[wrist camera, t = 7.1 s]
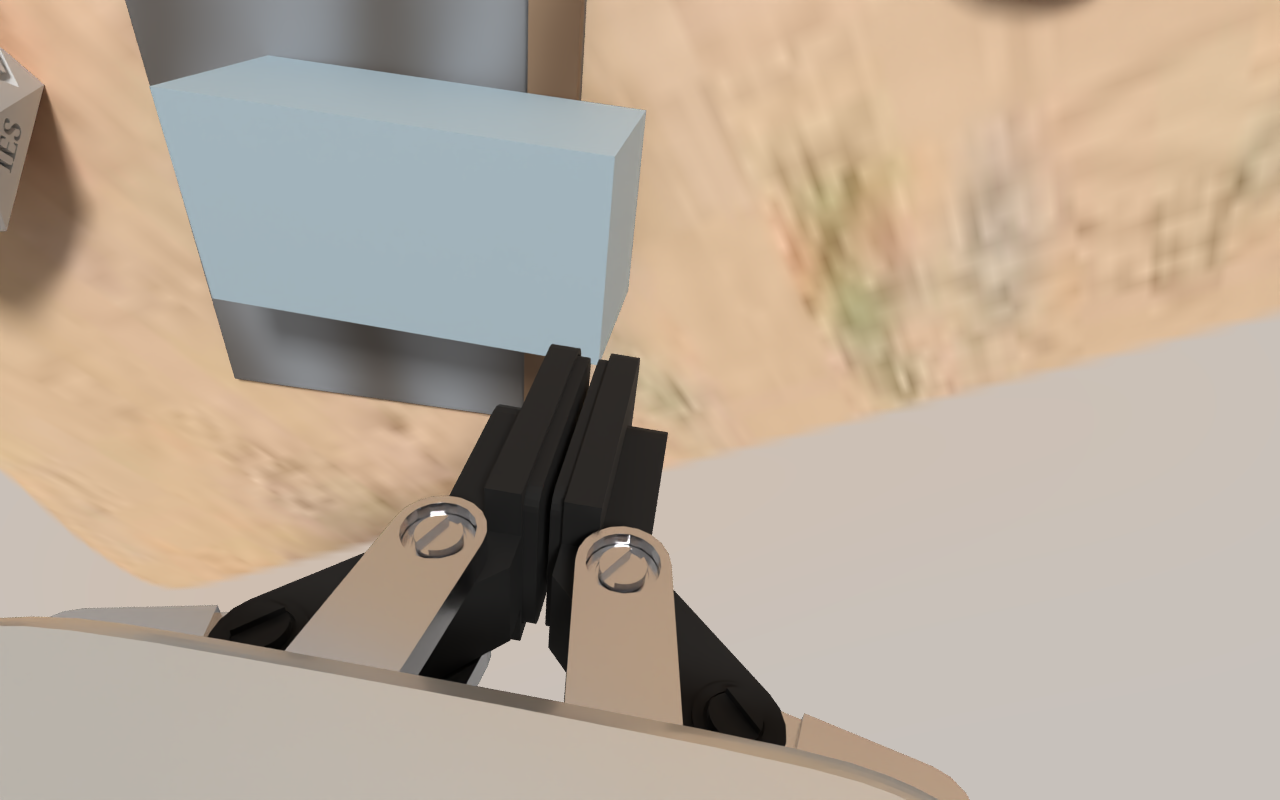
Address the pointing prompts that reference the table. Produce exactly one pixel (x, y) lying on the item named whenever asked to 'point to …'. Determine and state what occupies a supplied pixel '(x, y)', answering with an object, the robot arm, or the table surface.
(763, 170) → the table surface
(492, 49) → the mat
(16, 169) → the die
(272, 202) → the tall block
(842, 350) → the table surface
